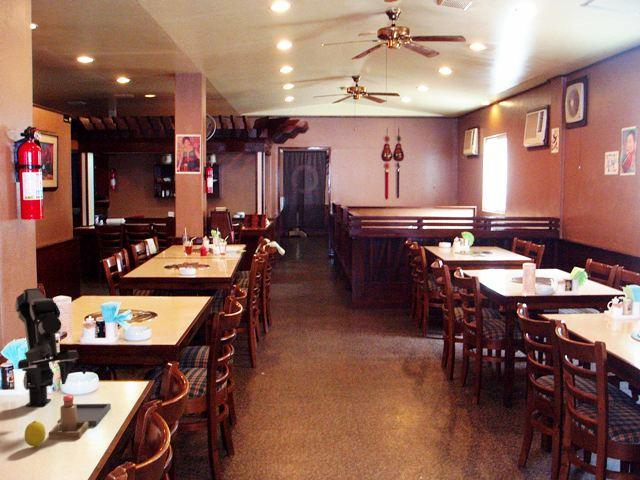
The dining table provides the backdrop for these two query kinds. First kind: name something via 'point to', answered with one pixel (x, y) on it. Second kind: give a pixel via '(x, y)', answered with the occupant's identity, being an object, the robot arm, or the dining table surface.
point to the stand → (69, 435)
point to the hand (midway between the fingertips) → (50, 386)
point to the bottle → (68, 415)
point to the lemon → (35, 434)
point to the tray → (91, 413)
